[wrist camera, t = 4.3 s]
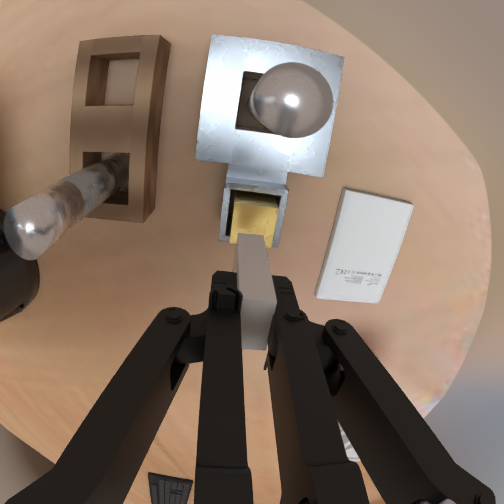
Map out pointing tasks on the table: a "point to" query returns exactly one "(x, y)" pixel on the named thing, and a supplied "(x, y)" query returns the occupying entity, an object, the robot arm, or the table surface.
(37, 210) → the test tube
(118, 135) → the rack
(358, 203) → the external hard drive
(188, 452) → the table surface
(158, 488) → the dark grey ribbed block
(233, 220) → the yellow piece
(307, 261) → the table surface
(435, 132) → the table surface
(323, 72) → the block
